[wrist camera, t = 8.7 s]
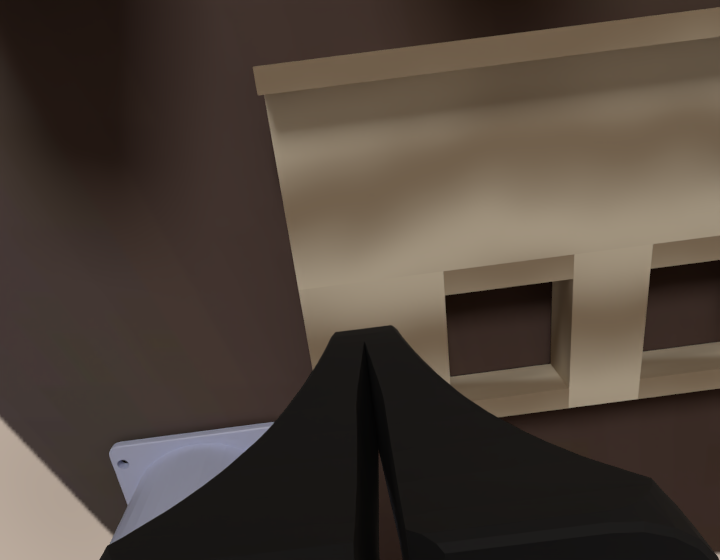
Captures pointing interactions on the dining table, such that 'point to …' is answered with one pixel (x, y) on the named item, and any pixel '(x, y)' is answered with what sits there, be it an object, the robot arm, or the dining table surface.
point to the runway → (508, 194)
